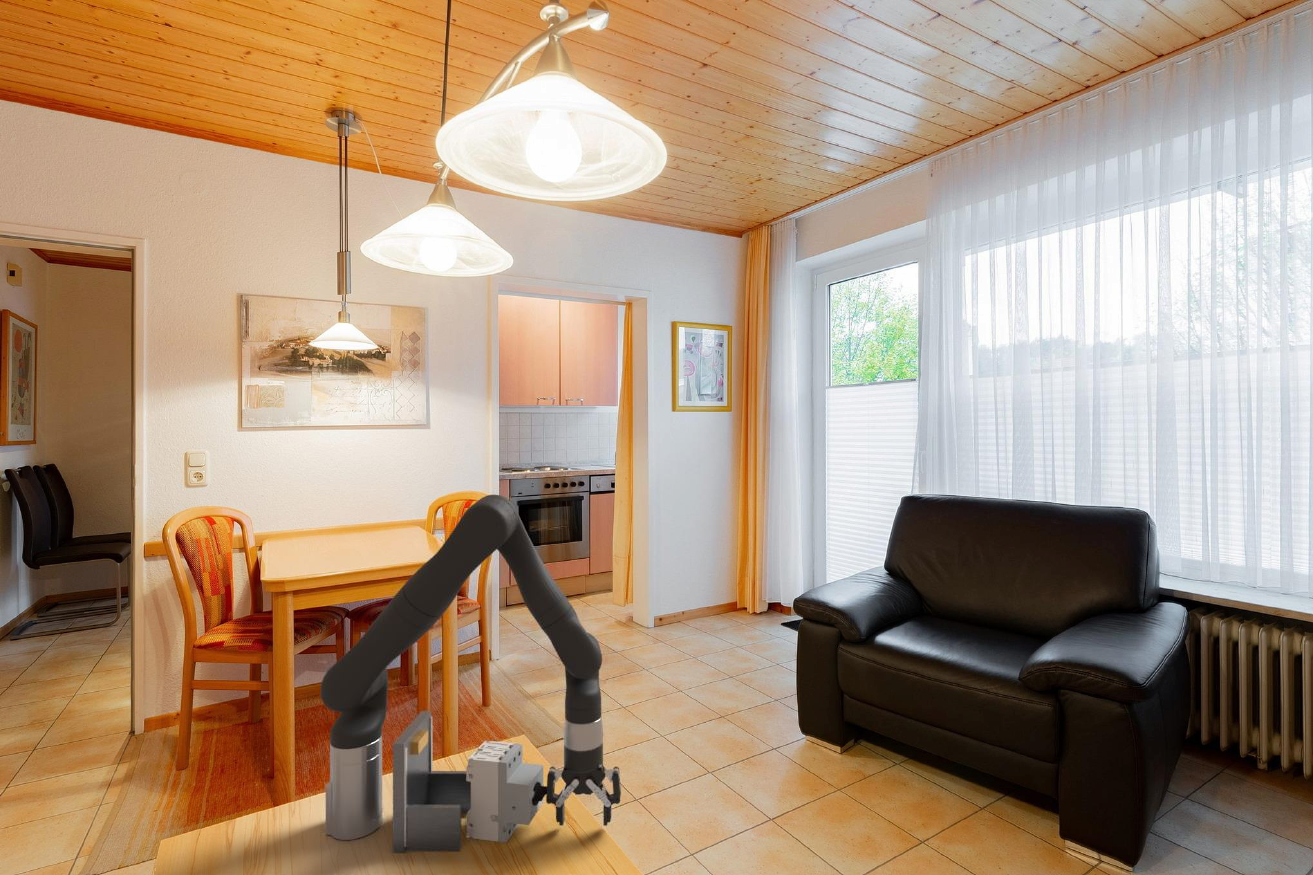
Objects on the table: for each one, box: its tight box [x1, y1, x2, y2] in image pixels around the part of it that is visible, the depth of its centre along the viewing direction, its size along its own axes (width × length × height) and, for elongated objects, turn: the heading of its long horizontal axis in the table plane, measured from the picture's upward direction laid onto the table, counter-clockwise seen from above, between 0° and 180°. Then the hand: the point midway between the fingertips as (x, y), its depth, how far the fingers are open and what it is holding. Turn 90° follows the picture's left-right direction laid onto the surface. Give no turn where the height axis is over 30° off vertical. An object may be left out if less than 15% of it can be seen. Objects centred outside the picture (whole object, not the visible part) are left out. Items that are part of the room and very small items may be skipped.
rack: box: [392, 710, 471, 854], centre depth 124 cm, size 12×14×20 cm
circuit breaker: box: [465, 740, 547, 843], centre depth 124 cm, size 8×14×15 cm, turn 79°
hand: (584, 823), depth 124 cm, fingers open, 8 cm apart
